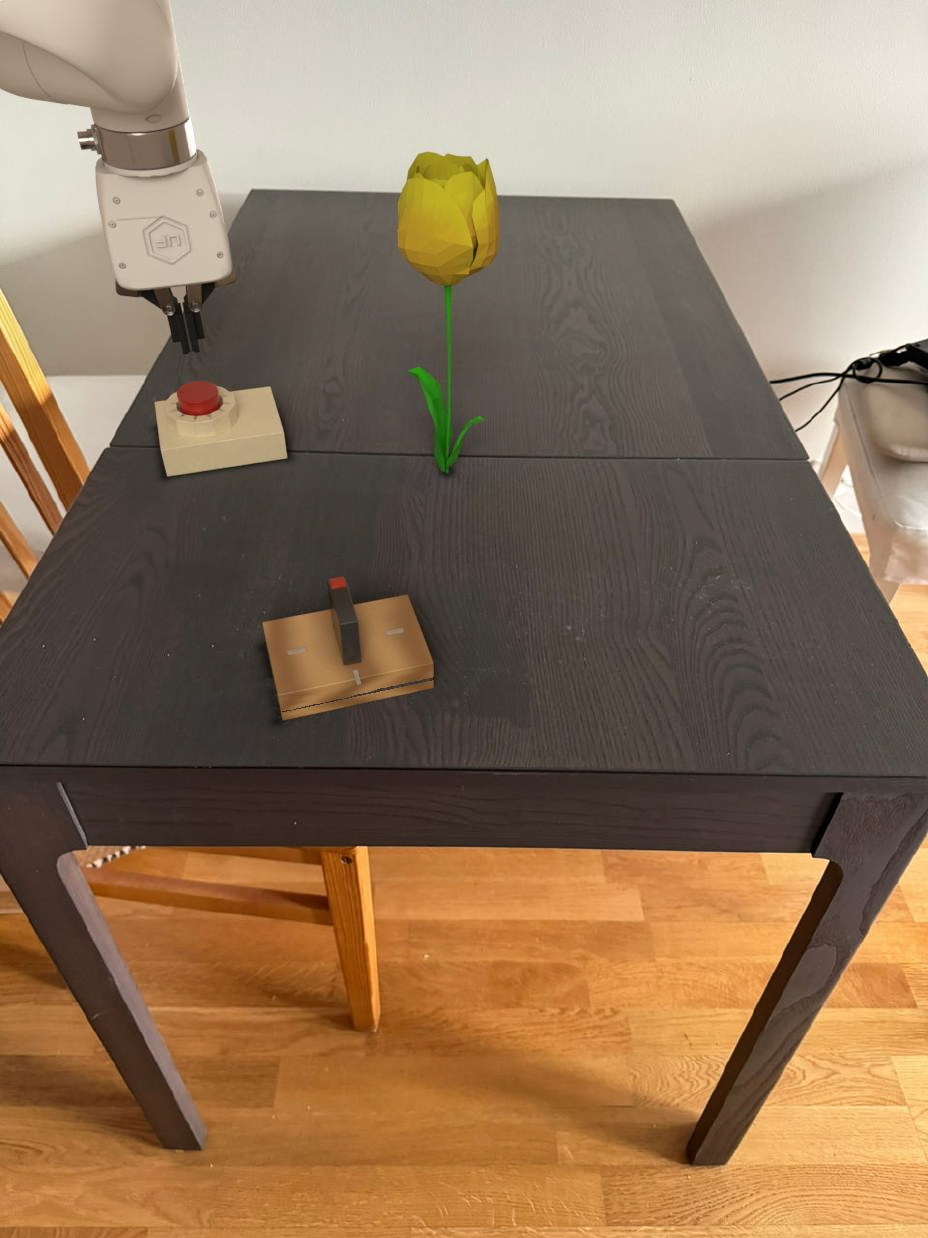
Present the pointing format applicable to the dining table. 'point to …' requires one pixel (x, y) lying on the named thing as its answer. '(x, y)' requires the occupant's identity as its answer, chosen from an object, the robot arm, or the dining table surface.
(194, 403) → the red button
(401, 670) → the dial panel
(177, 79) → the robot arm
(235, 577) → the dining table surface
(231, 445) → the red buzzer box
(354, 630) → the black block
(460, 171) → the flower
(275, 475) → the dining table surface
